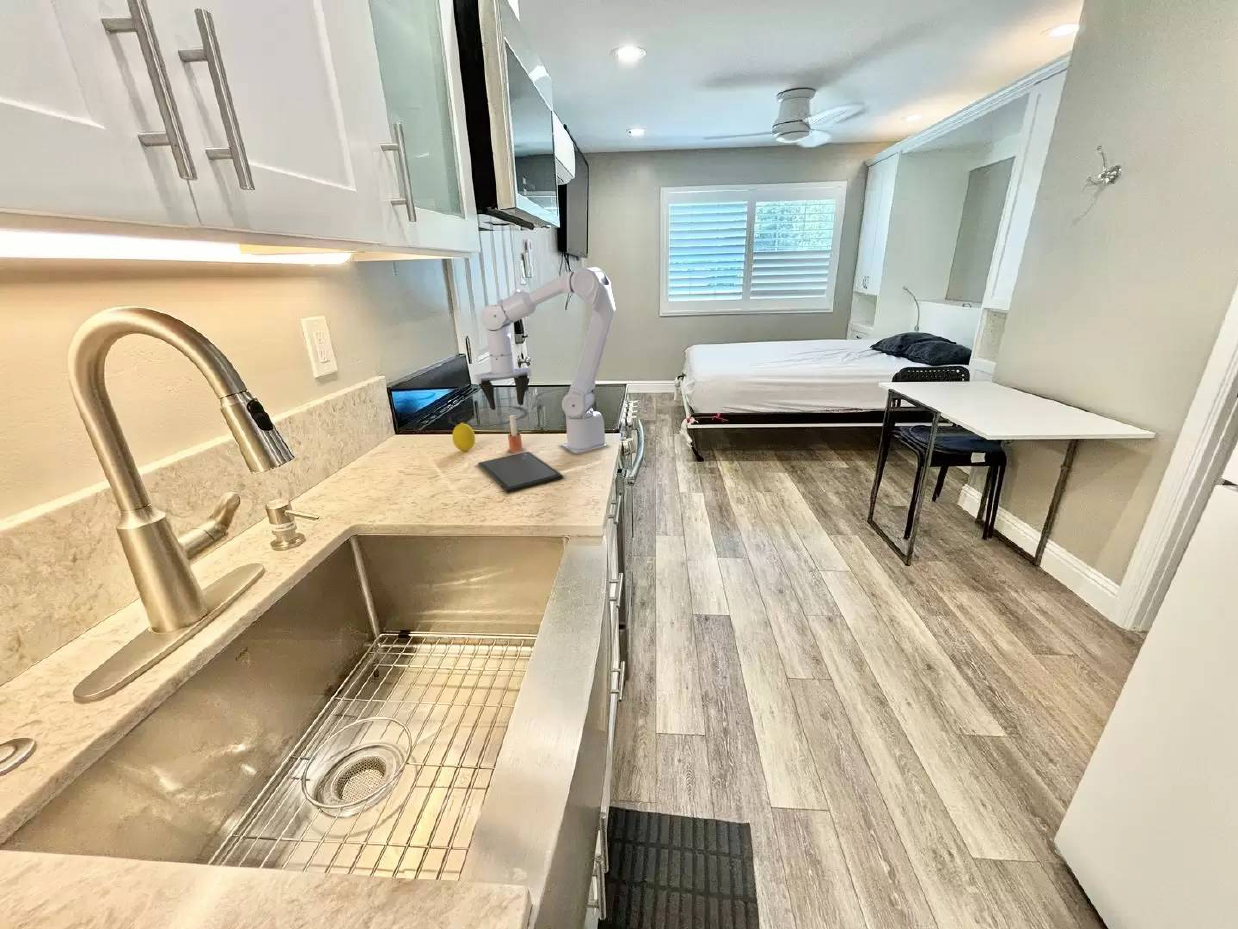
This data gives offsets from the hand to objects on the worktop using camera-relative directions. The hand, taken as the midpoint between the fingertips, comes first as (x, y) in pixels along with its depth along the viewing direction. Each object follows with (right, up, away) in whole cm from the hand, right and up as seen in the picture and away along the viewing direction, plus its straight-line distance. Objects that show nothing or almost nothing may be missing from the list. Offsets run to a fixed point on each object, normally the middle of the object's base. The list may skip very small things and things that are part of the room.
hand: (507, 406), depth 129 cm
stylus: (+3, -11, -1) cm, 12 cm away
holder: (+3, -12, -1) cm, 12 cm away
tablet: (+6, -17, -15) cm, 23 cm away
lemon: (-10, -12, -1) cm, 16 cm away
